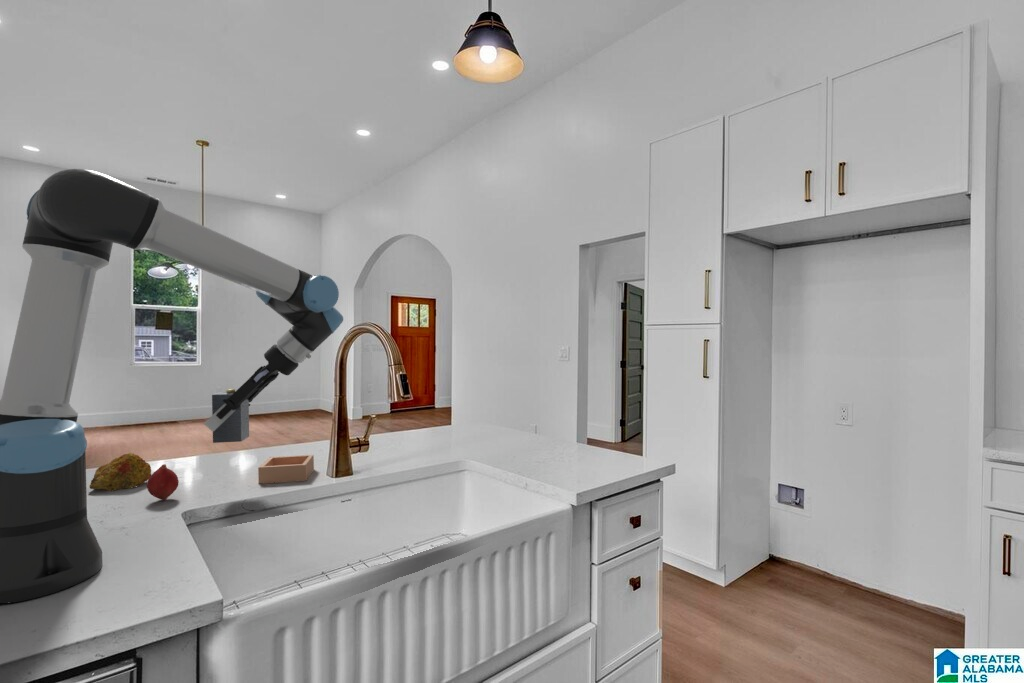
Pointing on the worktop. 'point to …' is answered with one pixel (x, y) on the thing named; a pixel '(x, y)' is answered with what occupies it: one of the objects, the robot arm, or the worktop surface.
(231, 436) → the block
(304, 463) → the tray
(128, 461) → the rock
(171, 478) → the onion
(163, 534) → the worktop surface
